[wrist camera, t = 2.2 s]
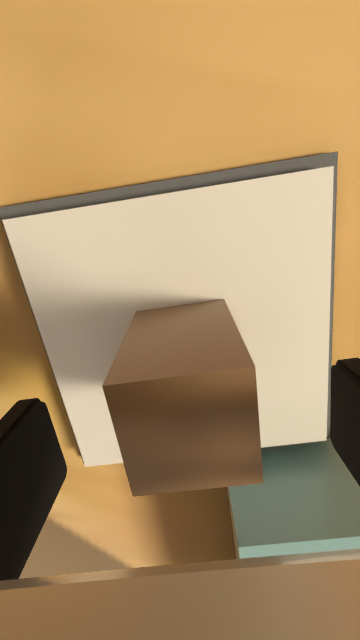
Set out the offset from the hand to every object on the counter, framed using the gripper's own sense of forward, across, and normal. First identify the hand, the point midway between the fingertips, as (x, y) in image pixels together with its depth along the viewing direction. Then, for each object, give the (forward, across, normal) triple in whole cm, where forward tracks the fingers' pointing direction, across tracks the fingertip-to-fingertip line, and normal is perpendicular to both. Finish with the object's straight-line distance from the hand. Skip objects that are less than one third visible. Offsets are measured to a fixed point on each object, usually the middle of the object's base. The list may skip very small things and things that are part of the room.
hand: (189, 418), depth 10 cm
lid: (+4, 0, -1) cm, 4 cm away
